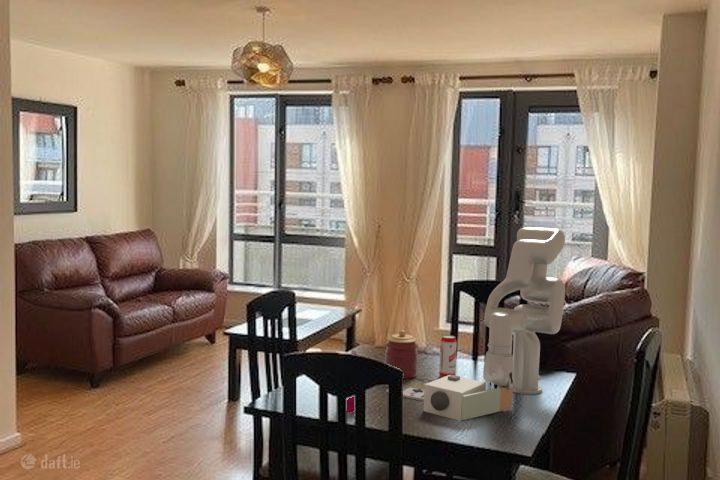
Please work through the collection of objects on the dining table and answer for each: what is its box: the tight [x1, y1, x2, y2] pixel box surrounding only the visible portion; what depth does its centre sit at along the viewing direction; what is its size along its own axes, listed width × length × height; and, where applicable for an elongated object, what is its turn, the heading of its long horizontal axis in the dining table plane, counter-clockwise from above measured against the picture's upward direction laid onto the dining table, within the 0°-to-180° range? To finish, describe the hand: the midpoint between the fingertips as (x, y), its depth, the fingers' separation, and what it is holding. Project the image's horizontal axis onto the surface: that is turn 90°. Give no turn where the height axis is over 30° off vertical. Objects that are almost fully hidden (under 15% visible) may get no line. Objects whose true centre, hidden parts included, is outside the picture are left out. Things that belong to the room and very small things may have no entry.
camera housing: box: [423, 374, 487, 422], centre depth 230 cm, size 18×14×10 cm
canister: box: [384, 329, 419, 380], centre depth 273 cm, size 13×13×18 cm
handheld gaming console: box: [402, 387, 424, 402], centre depth 246 cm, size 10×2×15 cm
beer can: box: [438, 334, 457, 378], centre depth 272 cm, size 6×6×16 cm
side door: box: [461, 386, 514, 421], centre depth 226 cm, size 22×1×8 cm, turn 127°
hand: (497, 403), depth 235 cm, fingers closed
